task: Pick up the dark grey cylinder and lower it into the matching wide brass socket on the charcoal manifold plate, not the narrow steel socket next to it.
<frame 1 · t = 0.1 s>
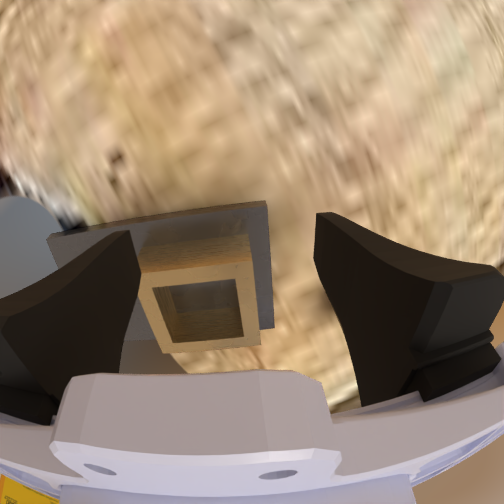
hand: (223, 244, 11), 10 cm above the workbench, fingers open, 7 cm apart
packaging box: (34, 425, 42), on the workbench
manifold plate: (162, 281, 24), on the workbench
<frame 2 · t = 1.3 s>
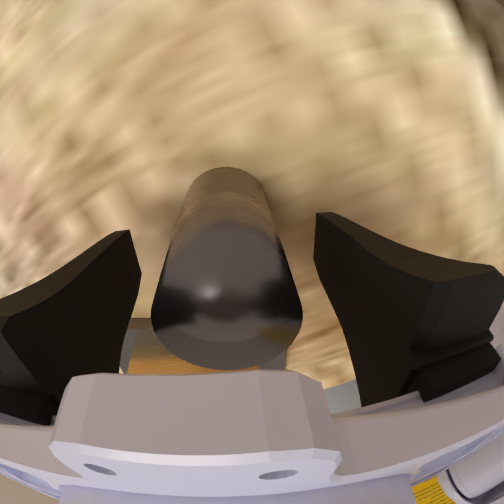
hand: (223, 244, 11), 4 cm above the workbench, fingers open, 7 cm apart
dark grey cylinder: (225, 206, 14), on the workbench
packaging box: (405, 454, 48), on the workbench
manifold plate: (210, 391, 23), on the workbench
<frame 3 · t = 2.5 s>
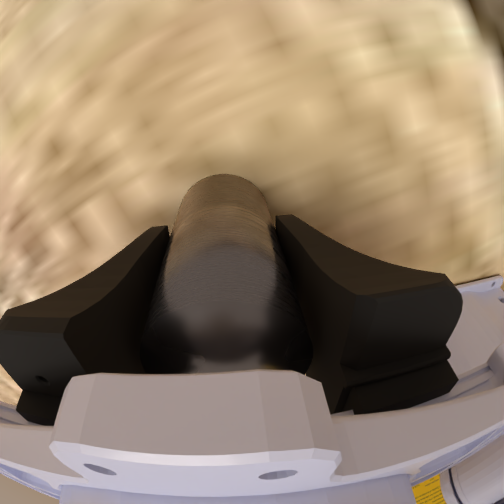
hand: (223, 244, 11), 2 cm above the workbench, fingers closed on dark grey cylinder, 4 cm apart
dark grey cylinder: (223, 217, 13), on the workbench, touching gripper
packaging box: (406, 458, 47), on the workbench
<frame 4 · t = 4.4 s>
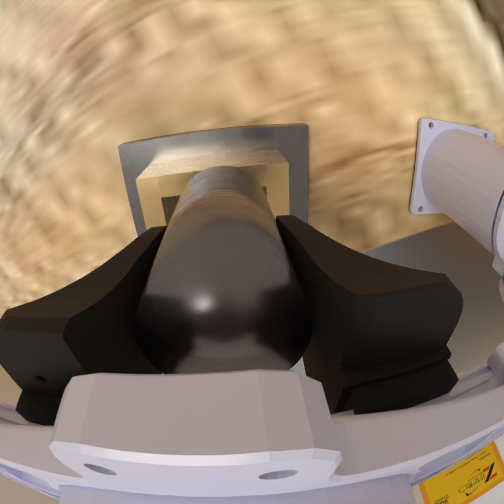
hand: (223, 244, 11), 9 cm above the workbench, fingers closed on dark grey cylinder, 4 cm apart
dark grey cylinder: (222, 208, 13), point 7 cm above the workbench, touching gripper
packaging box: (426, 411, 48), on the workbench
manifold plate: (224, 250, 22), on the workbench
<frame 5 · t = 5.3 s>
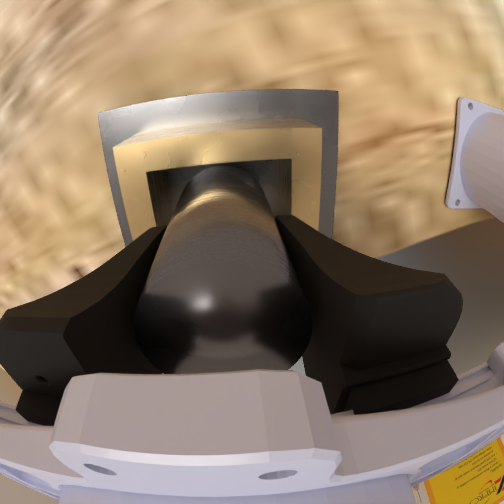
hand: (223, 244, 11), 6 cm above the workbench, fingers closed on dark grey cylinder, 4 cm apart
dark grey cylinder: (222, 208, 13), point 3 cm above the workbench, touching gripper
packaging box: (435, 421, 43), on the workbench
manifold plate: (229, 247, 18), on the workbench
when the fingers open (5 cm above the workbench, at t = 6.2 s): dark grey cylinder drops 2 cm, resting on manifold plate.
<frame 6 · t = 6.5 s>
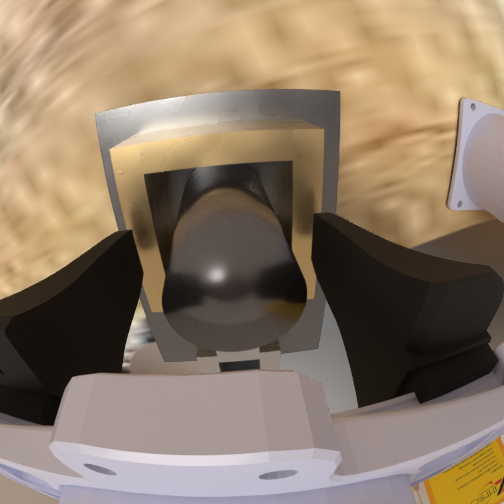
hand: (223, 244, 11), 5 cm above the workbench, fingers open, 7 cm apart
dark grey cylinder: (223, 196, 15), point 1 cm above the workbench, touching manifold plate
packaging box: (435, 421, 43), on the workbench
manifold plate: (229, 249, 18), on the workbench
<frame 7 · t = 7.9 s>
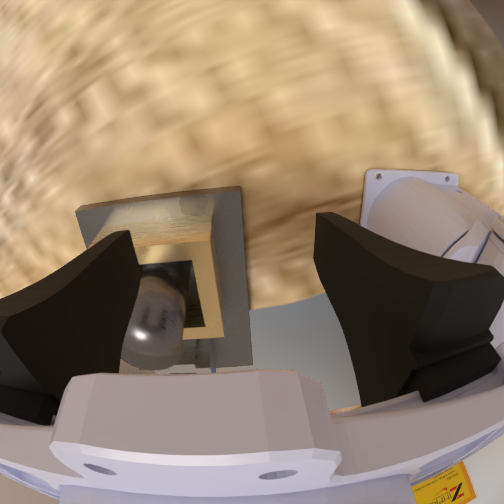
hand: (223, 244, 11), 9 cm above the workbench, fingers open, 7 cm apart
dark grey cylinder: (164, 265, 21), point 1 cm above the workbench, touching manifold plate
packaging box: (399, 427, 50), on the workbench
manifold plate: (175, 296, 24), on the workbench
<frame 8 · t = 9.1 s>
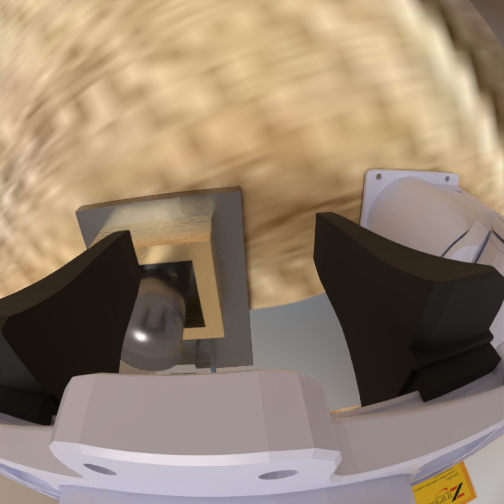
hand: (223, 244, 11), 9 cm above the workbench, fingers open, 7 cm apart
dark grey cylinder: (164, 266, 21), point 1 cm above the workbench, touching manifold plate
packaging box: (400, 427, 50), on the workbench
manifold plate: (176, 296, 24), on the workbench
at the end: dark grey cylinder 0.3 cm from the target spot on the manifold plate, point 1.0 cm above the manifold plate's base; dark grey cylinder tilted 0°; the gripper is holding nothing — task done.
